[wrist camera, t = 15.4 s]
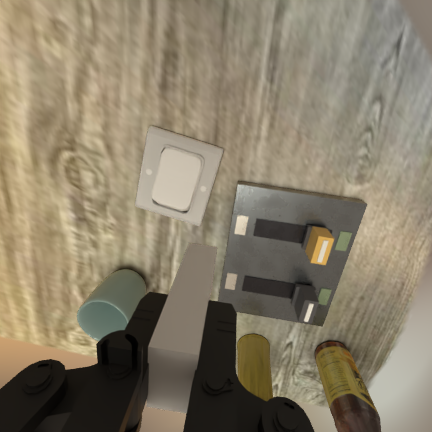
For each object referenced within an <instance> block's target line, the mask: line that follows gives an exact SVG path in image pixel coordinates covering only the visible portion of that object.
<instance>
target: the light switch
mask: <svg viewBox="0 0 432 432" xmlns="http://www.w3.org/2000/svg"><path fill="white" fill-rule="evenodd" d="M164 148H165V149H164ZM163 149H164V150H163ZM223 151H224V149H223V148H220V147H217V146H214V145H211V144H208V143H205V142H202V141H199V140H196V139H192V138H189V137H186V136H183V135H180V134H177V133H174V132H171V131H168V130H164V129H161V128H158V127H155V126H150V127H149V128H148V131H147V137H146V143H145V149H144V155H143V160H142V166H141V172H140V178H139V184H138V189H137V195H136V201H135V206H136V207H139V208H142V209H145V210H148V211H151V212H155V213H158V214H161V215H164V216H167V217H171V218H174V219H177V220H180V221H183V222H187V223H190V224H193V225H196V226H200V225H201V223H202V220H203V217H204V213H205V210H206V207H207V204H208V200H209V197H210V194H211V190H212V187H213V184H214V181H215V177H216V174H217V171H218V168H219V164H220V161H221V158H222V155H223ZM154 200H155V201H156V202H157V203H158V204H157V203H156V202H155V201H154ZM189 208H190V209H189ZM188 209H189V211H188V212H182V211H187V210H188Z"/></svg>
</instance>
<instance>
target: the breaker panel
mask: <svg viewBox="0 0 432 432" xmlns="http://www.w3.org/2000/svg"><path fill="white" fill-rule="evenodd" d="M366 206H367V203H365V202H364V201H362V200H360V199H354V198H347V197H341V196H334V195H327V194H321V193H314V192H308V191H301V190H295V189H288V188H281V187H275V186H268V185H262V184H255V183H249V182H242V181H238V184H237V190H236V196H235V202H234V208H233V214H232V220H231V226H230V232H229V238H228V244H227V250H226V256H225V262H224V268H223V274H222V280H221V285H220V291H219V297H218V302H224V303H230V304H232V305H233V307H234V309H235V311H236V312H240V313H246V314H252V315H258V316H264V317H270V318H276V319H281V320H287V321H293V322H298V319H297V316H296V312H295V308H294V306H292V305H291V298H292V295H293V292H294V288H295V285H296V284H301V285H307V286H313V287H315V288H316V296H317V298H318V301H319V304H318V307H317V310H316V313H315V316H314V319H313V322H312V324H311V325H317V326H323V324H324V321H325V318H326V316H327V313H328V310H329V307H330V305H331V302H332V299H333V296H334V294H335V291H336V288H337V286H338V283H339V280H340V277H341V275H342V272H343V269H344V266H345V264H346V261H347V258H348V256H349V253H350V250H351V247H352V245H353V242H354V239H355V236H356V234H357V231H358V228H359V225H360V223H361V220H362V217H363V215H364V212H365V209H366ZM307 225H311V226H318V227H324V228H329V230H330V233H331V235H332V236H333V237H334V242H333V245H332V248H331V251H330V254H329V257H328V260H327V263H326V265H321V264H315V263H310V260H309V258H308V256H307V254H306V252H305V250H302V248H301V245H302V242H303V238H304V235H305V231H306V228H307ZM299 323H303V322H299ZM305 324H309V323H305Z"/></svg>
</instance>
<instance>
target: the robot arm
mask: <svg viewBox="0 0 432 432" xmlns="http://www.w3.org/2000/svg"><path fill="white" fill-rule="evenodd" d="M216 253H217V247H215V246H208V245H201V244H194V243H189V244H188V247H187V249H186V252H185V254H184V257H183V259H182V262H181V264H180V267H179V269H178V272H177V275H176V277H175V280H174V282H173V285H172V287H171V290H170V292H169V295H167V294H161V293H154V292H149V293H148V294H146V295H145V296H144V297H143V298H142V299H141V300H140V301H139V303H138V305H137V307H136V310H135V311H134V313H133V315H132V317H131V318H130V320H129V322H128V324H127V326H126V328H125V330H118V331H115V332H111V333H109V334H107V335H106V336H104V337H103V338H102V339H101V340H100V341H99V342H98V343H97V344H96V345H97V359H98V363H97V364H95V365H92V366H89V367H83V368H76V369H70V370H65V366H64V365H63V364H62V363H61V362H59V361H56V360H52V359H49V360H42V361H39V362H36V363H34V364H31V365H29V366H28V367H27V368H25V369H24V370H22V371H21V372H20V373H18V374H17V375H16V376H15V377H14V378H13V379H12V380H10V381H9V382H8V383H7V384H6V385H5V386H3V387H2V388H1V389H0V432H139V431H140V427H141V421H142V412H143V409H144V405H145V402H146V399H147V407H152V408H157V409H163V410H169V411H175V412H181V413H186V420H185V425H184V431H183V432H314V429H313V427H312V425H311V422H310V420H309V418H308V417H307V415H306V413H305V412H304V410H303V409H302V408H301V407H300V406H299V405H298V404H297V403H296V402H294V401H292V400H290V399H288V398H286V397H278V396H277V397H274V398H271V399H269V400H268V401H265V400H263V399H261V398H259V397H257V396H256V395H254V394H252V393H251V392H249V391H248V390H247V389H246V388H245V387H244V386H243V385H242V384H241V383H240V381H239V379H238V377H237V374H236V368H235V365H236V320H237V313H236V311H235V309H234V307H233V305H232V304H230V303H224V302H217V301H211V300H210V296H211V290H212V283H213V275H214V268H215V260H216Z"/></svg>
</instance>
